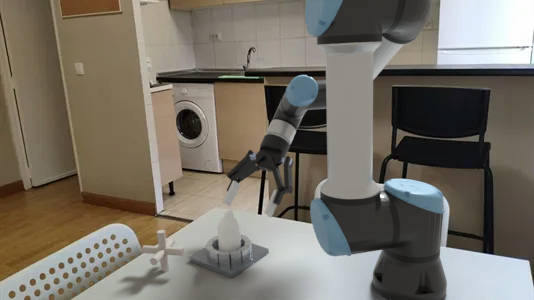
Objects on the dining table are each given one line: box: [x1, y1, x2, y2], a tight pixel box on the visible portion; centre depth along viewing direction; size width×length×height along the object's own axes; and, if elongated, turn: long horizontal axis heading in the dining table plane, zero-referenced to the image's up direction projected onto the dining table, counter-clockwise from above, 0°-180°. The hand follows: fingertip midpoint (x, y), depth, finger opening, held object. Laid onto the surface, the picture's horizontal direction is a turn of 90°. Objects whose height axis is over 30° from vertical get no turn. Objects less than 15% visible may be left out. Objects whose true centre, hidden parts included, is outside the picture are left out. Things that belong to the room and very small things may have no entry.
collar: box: [188, 234, 270, 279], centre depth 109 cm, size 14×14×4 cm
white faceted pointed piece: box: [217, 208, 242, 252], centre depth 107 cm, size 6×12×6 cm
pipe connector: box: [141, 229, 185, 272], centre depth 103 cm, size 10×10×10 cm
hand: (246, 209), depth 113 cm, fingers open, 13 cm apart
